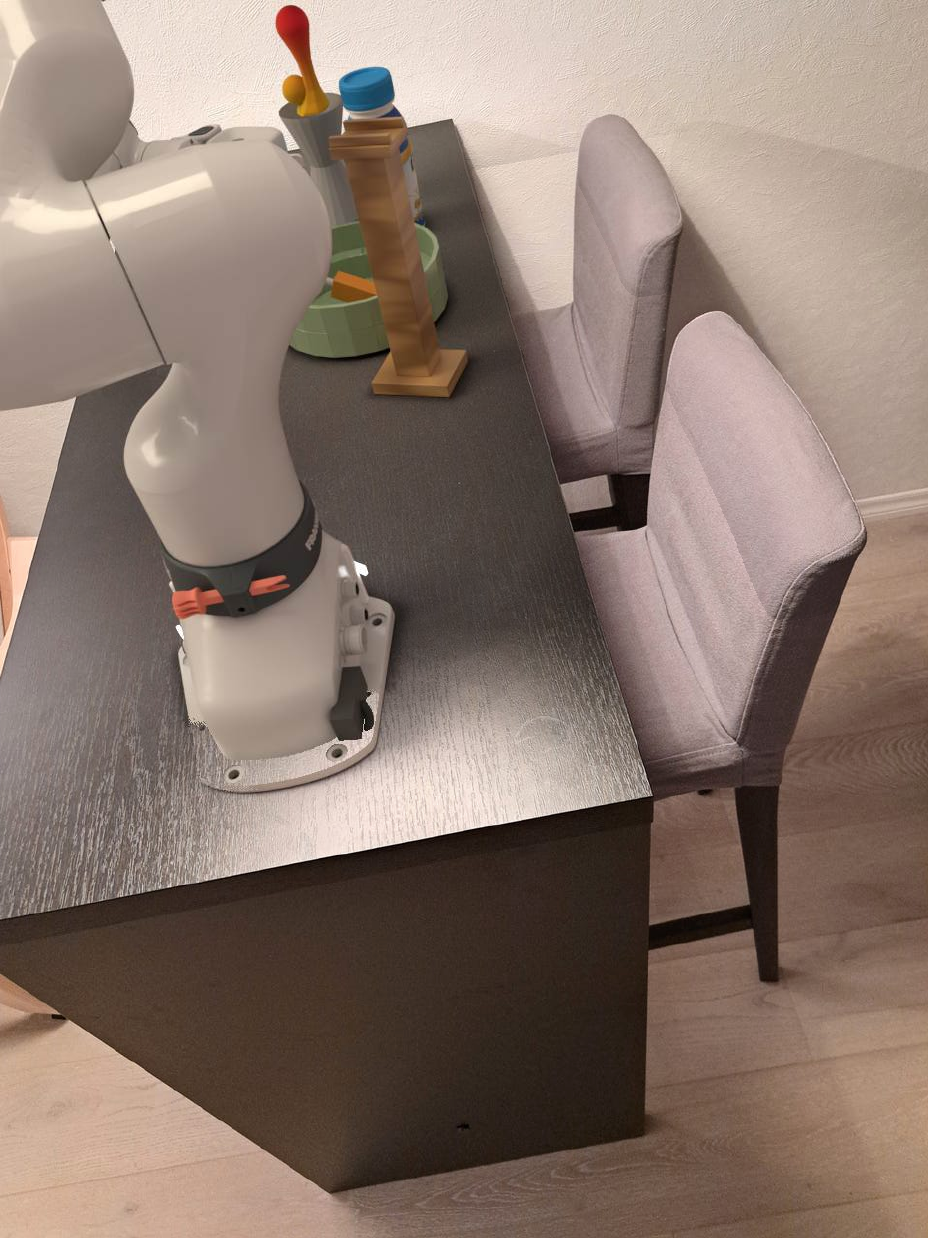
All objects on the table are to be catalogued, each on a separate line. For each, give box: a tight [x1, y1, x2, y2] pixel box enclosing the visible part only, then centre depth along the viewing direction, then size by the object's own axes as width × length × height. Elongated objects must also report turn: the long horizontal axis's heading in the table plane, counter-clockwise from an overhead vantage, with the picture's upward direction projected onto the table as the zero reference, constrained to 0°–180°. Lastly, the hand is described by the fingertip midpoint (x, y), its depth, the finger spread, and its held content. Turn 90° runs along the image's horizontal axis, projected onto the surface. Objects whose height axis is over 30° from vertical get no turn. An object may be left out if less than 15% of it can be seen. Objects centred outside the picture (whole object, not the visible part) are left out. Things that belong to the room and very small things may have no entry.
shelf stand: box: [328, 116, 469, 398], centre depth 96 cm, size 9×7×27 cm
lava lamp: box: [274, 4, 359, 227], centre depth 126 cm, size 9×9×35 cm
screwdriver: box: [324, 271, 377, 303], centre depth 115 cm, size 16×2×2 cm, turn 79°
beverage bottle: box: [338, 66, 426, 227], centre depth 125 cm, size 8×8×20 cm
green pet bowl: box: [289, 220, 449, 359], centre depth 115 cm, size 21×21×7 cm
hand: (288, 177), depth 107 cm, fingers open, 6 cm apart
